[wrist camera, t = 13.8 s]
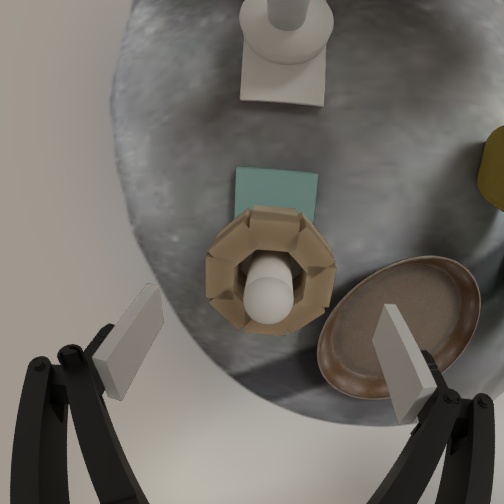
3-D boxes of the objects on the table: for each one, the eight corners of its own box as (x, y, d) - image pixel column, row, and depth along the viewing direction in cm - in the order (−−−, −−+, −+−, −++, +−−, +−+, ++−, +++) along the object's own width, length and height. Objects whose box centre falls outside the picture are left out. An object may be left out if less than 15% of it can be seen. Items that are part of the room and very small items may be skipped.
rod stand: (249, -25, 17) (232, -95, 7) (325, -20, 17) (347, -86, 7) (240, 100, 23) (212, 74, 12) (323, 107, 22) (357, 86, 12)
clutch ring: (217, 202, 22) (205, 216, 19) (332, 212, 22) (343, 227, 18) (216, 301, 26) (207, 328, 22) (316, 310, 25) (321, 337, 22)
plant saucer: (391, 398, 36) (396, 414, 33) (279, 349, 33) (278, 369, 30) (490, 296, 28) (503, 309, 25) (395, 204, 25) (409, 213, 22)
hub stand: (236, 166, 25) (206, 189, 14) (317, 173, 25) (348, 201, 14) (231, 302, 31) (210, 384, 20) (300, 308, 30) (307, 392, 19)
